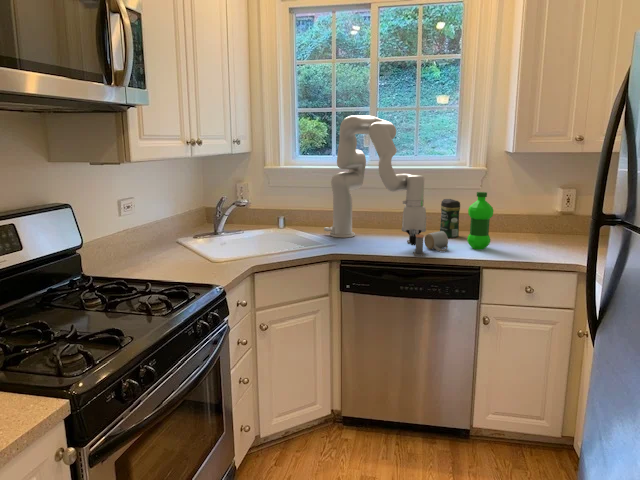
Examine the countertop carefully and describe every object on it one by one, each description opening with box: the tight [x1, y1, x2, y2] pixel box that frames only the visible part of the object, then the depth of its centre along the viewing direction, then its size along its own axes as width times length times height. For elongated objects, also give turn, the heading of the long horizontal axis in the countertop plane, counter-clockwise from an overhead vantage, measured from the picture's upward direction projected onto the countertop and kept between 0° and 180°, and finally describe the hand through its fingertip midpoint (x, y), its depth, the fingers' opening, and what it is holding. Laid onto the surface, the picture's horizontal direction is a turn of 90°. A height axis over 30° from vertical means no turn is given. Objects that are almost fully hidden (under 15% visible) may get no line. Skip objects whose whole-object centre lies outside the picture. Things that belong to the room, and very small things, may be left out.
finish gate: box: [406, 230, 426, 257], centre depth 220 cm, size 4×28×9 cm, turn 176°
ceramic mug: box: [423, 230, 449, 253], centre depth 219 cm, size 11×8×8 cm
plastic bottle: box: [466, 191, 494, 251], centre depth 219 cm, size 10×10×25 cm
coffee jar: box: [439, 198, 461, 239], centre depth 245 cm, size 10×8×19 cm
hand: (413, 244), depth 221 cm, fingers closed
